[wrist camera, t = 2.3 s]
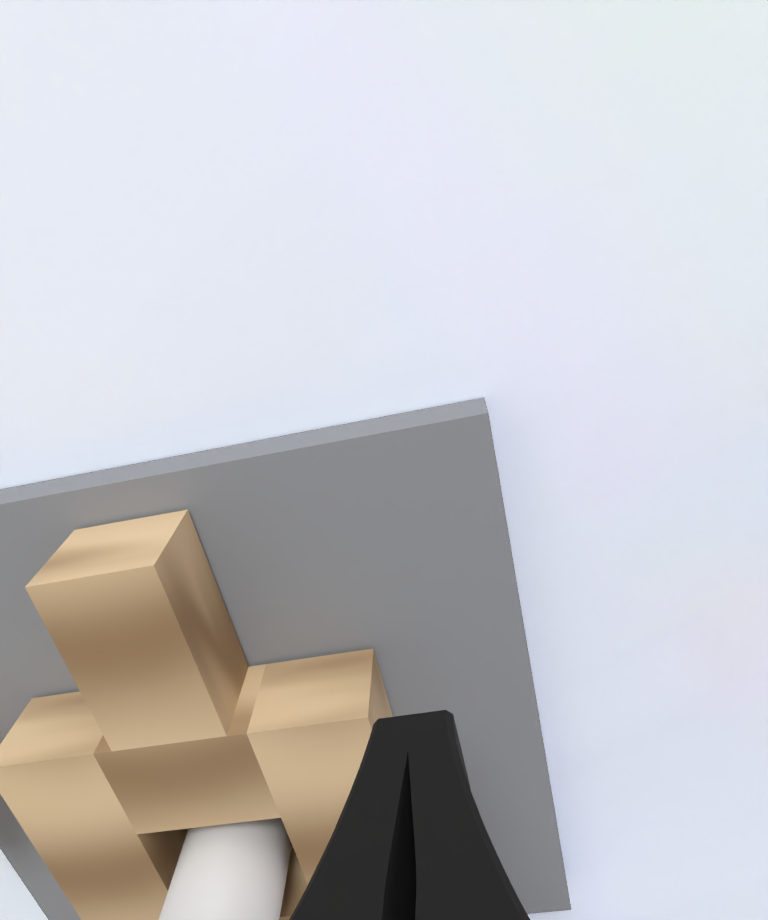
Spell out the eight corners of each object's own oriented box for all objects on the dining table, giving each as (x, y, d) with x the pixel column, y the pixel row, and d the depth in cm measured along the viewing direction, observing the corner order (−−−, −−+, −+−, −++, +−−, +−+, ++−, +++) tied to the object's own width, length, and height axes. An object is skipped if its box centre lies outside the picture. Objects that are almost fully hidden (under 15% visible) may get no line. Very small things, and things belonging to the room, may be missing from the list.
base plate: (564, 880, 24) (609, 1101, 18) (84, 927, 26) (-3, 1136, 21) (484, 397, 16) (518, 528, 11) (-177, 523, 19) (-419, 682, 13)
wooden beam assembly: (441, 886, 22) (444, 966, 20) (154, 915, 24) (128, 993, 21) (326, 484, 16) (312, 538, 14) (-52, 552, 18) (-118, 611, 15)
